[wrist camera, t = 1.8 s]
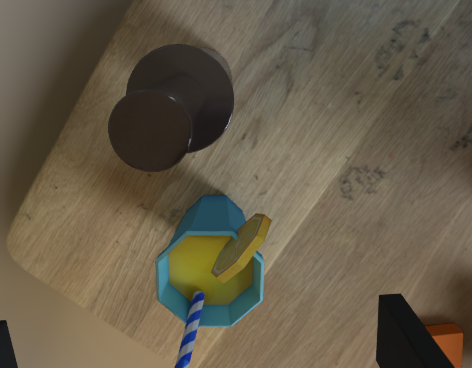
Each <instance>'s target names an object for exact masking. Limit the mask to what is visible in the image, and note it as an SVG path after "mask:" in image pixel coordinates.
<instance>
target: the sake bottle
mask: <svg viewBox="0 0 472 368" xmlns="http://www.w3.org/2000/svg"><path fill="white" fill-rule="evenodd" d="M233 109H234V92H233V83H232V75H231V70H230V67H229V65H228V63H227V62H226V60H225V59H224V58H223V56H221V55H220V54H219V53H218V52H216V51H214V50H212V49H210V48H206V47H198V46H191V45H182V44H174V45H167V46H163V47H160V48H157V49H155V50H153V51H151V52H150V53H149V54H147V55H146V56H144V57H143V58H142V59H141V60H140V61H139V63H138V64H137V65H136V66H135V68H134V70H133V71H132V73H131V75H130V78H129V81H128V84H127V90H126V96H125V97H123V98H122V99H121V100H120V101H119V102H118V103H117V104H116V105H115V107H114V109H113V110H112V112H111V115H110V118H109V124H108V133H109V139H110V142H111V145H112V147H113V149H114V150H115V152H116V153H117V155H118V156H119V157H120V158H121V159H122V160H123V161H124V162H125V163H126V164H128V165H130V166H131V167H133V168H135V169H138V170H141V171H146V172H159V171H164V170H167V169H169V168H171V167H173V166H175V165H176V164H177V163H179V162H180V161H181V160H182V159H183V158H184V156H185V155H186V153H192V152H196V151H199V150H202V149H204V148H206V147H208V146H210V145H211V144H213V143H214V142H215V141H216V140H218V139H219V138H220V136H221V135H222V134H223V133H224V131H225V130H226V128H227V127H228V125H229V123H230V120H231V117H232V114H233Z"/></svg>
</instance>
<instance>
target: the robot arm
mask: <svg viewBox="0 0 472 368" xmlns="http://www.w3.org/2000/svg"><path fill="white" fill-rule="evenodd" d="M376 361H377V363H378V365H379V367H380V368H455V367H454V366H453V364H452V363H451V362H450V360H449V359H448V358H447V356H446V355H445V353H444V352H443V351H442V349H441V348H440V347H439V345H438V344H437V343H436V341H435V340H434V338H433V337H432V336H431V334H430V333H429V332H428V330H427V329H426V328H425V326H424V325H423V323H422V322H421V321H420V319H419V318H418V317H417V315H416V314H415V313H414V311H413V310H412V308H411V307H410V306H409V304H408V303H407V302H406V300H405V299H404V298H403V296H402V295H401V294H386V295H379V307H378V328H377V350H376ZM0 368H18V366H17V362H16V358H15V354H14V350H13V346H12V342H11V338H10V334H9V330H8V326H7V322H6V320H1V321H0Z"/></svg>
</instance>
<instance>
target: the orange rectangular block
mask: <svg viewBox="0 0 472 368" xmlns="http://www.w3.org/2000/svg"><path fill="white" fill-rule="evenodd" d="M425 328H426V329H427V330H428V332H429V333H430V334H431V336H432V337H433V338H434V340H435V341H436V343H437V344H438V345H439V347H440V348H441V349H442V351H443V352H444V353H445V355H446V356H447V358H448V359H449V360H450V362H451V363H452V364H453V366H454V367H455V368H459V367H462V352H463V332H462V331H461V329H460V328H459V327H458V326H457V325H456V323H449V324H440V325H431V326H425Z"/></svg>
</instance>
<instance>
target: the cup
mask: <svg viewBox="0 0 472 368" xmlns="http://www.w3.org/2000/svg"><path fill="white" fill-rule="evenodd" d="M271 221H272V220H271V219H270V218H268V217H267V216H266V215H264V214H257V213H256V214H255V215H254V216H252V217H251V218H250V219H249V220H248V221H247V222H246V220H245V217H244V214H243V212H242V210H241V209H240V208H239V207H238V206H237V205H236V204H235V203H233V202H232V201H231V200H230V199H229V198H228V197H227V196H215V195H203V196H202V197H201V198H200V199H199V200H198V201H197V202H196V203H195V204H194V205H193V206H191V207H190V208H189V209H188V210H187V212H186V214H185V216H184V217H183V219H182V221H181V223H180V225H179V227H178V229H177V230H176V232H175V234H174V236H173V238H172V240H171V242H170V243H169V245H168V247H167V248H166V249H165V250H164V251H162V252H161V253H160V254H159V256H158V257H157V259H156V260H155V262H156V284H157V300H158V301H159V302H160V303H161V304H163V305H164V306H165V307H166V308H167V309H169V310H170V311H171V312H172V313H173V314H175V315H176V316H177V317H178V318H179V319H180V320H182V321H183V322H184V323H185V324H186V326H185V330H184V334H183V338H182V342H181V346H180V350H179V354H178V358H177V362H176V365H175V368H188V367H189V364H190V359H191V355H192V350H193V346H194V342H195V337H196V333H197V328H198V327H232V326H233V325H234V324H235V323H237V322H238V321H239V320H240V319H241V318H242V317H244V316H245V315H246V314H247V313H248V312H250V311H251V310H252V309H253V308H254V307H255V306H257V305H258V304H259V303H260V302H261V301H263V282H264V259H263V257H262V255H261V254H260V253H259V252H258V251H257V250H258V249H259V247H260V246H261V245H262V243H263V242H264V241H265V238H266V235H267V232H268V229H269V226H270V224H271Z"/></svg>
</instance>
